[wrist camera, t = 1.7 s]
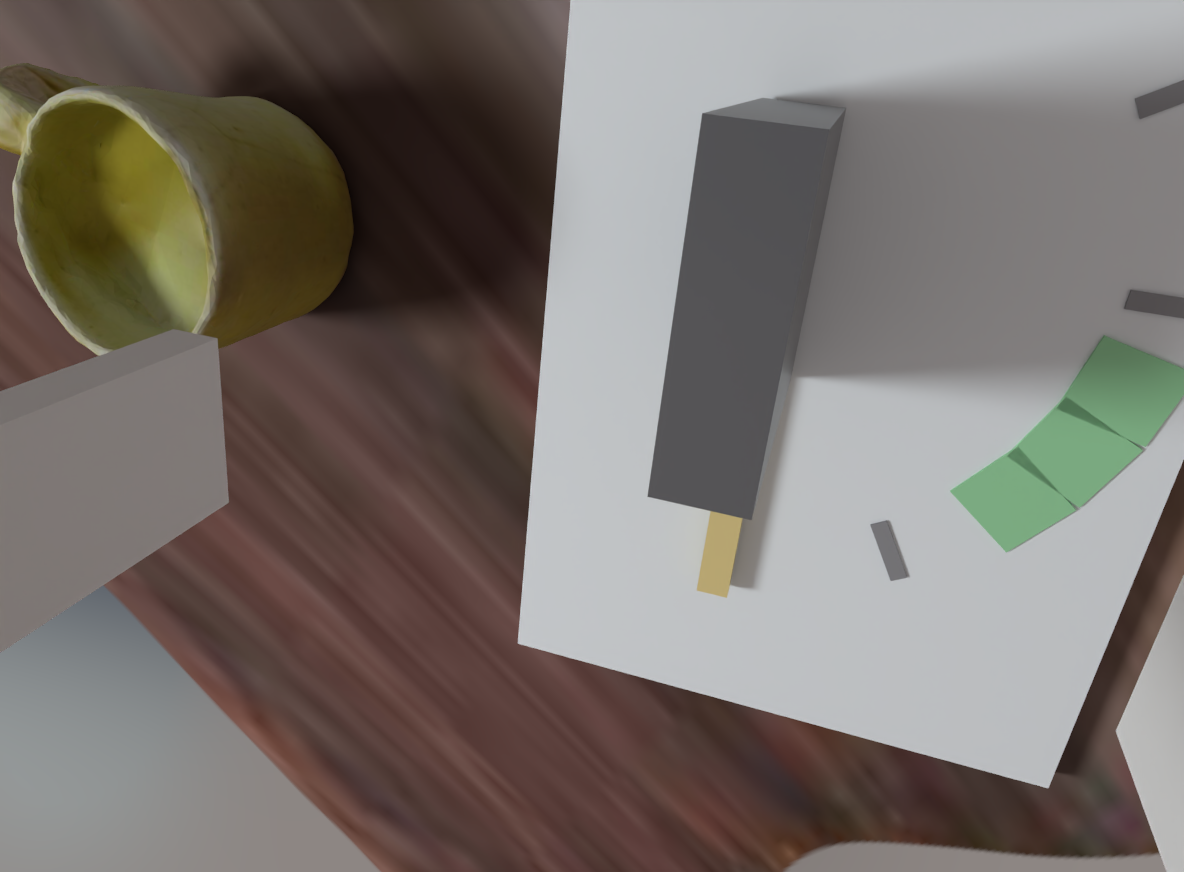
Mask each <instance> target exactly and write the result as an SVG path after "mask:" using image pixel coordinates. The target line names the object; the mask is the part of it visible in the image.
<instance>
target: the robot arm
mask: <svg viewBox="0 0 1184 872" xmlns="http://www.w3.org/2000/svg"><path fill="white" fill-rule="evenodd" d="M227 503H229V498H228V484H227V469H226V455H225V440H224V425H223V411H222V396H221V382H220V367H219V353H218V338H213V337H209V336H204V335H199V334H194V333H190V332H185V331H180V330H176V329H172V330H170V331H167V332H164V333H161V334H159V335H156V336H153V337H150V338H148V339H145V340H142V341H139V342H136V343H134V344H131V345H128V346H125V347H123V348H120V349H117V350H114V351H111V352H109V353H106V354H103V355H100V356H98V357H95V358H92V359H89V360H86V361H84V362H81V363H78V364H75V365H73V366H70V367H67V368H64V369H61V370H59V371H56V372H53V373H50V374H48V375H45V376H42V377H39V378H37V379H34V380H31V381H28V382H25V383H23V384H20V385H17V386H14V387H12V388H9V389H6V390H3V391H0V653H1V652H2V651H4V650H5V649H7V648H8V647H10V646H11V645H12V644H14V643H16V642H17V641H19V640H20V639H22V638H23V637H25V636H26V635H28V634H29V633H31V632H32V631H34V630H36V629H37V628H39V627H40V626H41V625H43V624H45V623H46V622H48V621H49V620H51V619H52V618H54V617H55V616H57V615H58V614H60V613H61V612H63V611H64V610H66V609H67V608H69V607H70V606H72V605H73V604H75V603H77V602H78V601H80V600H81V599H83V598H84V597H86V596H87V595H89V594H90V593H92V592H93V591H95V590H96V589H98V588H99V587H101V586H102V585H104V584H105V583H107V582H109V581H110V580H112V579H113V578H115V577H116V576H118V575H119V574H121V573H122V572H124V571H125V570H127V569H128V568H130V567H131V566H133V565H134V564H136V563H137V562H139V561H140V560H142V559H143V558H145V557H147V556H148V555H150V554H151V553H153V552H154V551H156V550H157V549H159V548H160V547H162V546H163V545H165V544H166V543H168V542H169V541H171V540H172V539H174V538H175V537H177V536H178V535H180V534H182V533H183V532H185V531H186V530H188V529H189V528H191V527H192V526H194V525H195V524H197V523H198V522H200V521H201V520H203V519H204V518H206V517H207V516H209V515H210V514H212V513H213V512H215V511H216V510H218V509H220V508H221V507H223V506H224V505H226V504H227ZM1116 733H1117V736H1118V739H1119V741H1120V744H1121V747H1122V750H1123V753H1124V755H1125V758H1126V761H1127V764H1128V766H1129V769H1130V772H1131V775H1132V777H1133V780H1134V783H1135V786H1136V789H1137V791H1138V794H1139V797H1140V800H1141V802H1142V805H1143V808H1144V811H1145V813H1146V816H1147V819H1148V822H1149V825H1150V827H1151V830H1152V833H1153V836H1154V838H1155V841H1156V844H1157V847H1158V850H1159V852H1160V855H1161V858H1162V860H1163V863H1164V866H1165V869H1166V871H1167V872H1184V576H1183V578H1182V580H1181V582H1180V585H1179V587H1178V589H1177V592H1176V594H1175V596H1174V599H1173V601H1172V603H1171V605H1170V608H1169V610H1168V612H1167V615H1166V617H1165V619H1164V622H1163V624H1162V626H1161V628H1160V631H1159V633H1158V635H1157V638H1156V640H1155V642H1154V645H1153V647H1152V649H1151V651H1150V654H1149V656H1148V658H1147V661H1146V663H1145V665H1144V668H1143V670H1142V672H1141V674H1140V677H1139V679H1138V681H1137V684H1136V686H1135V688H1134V691H1133V693H1132V695H1131V697H1130V700H1129V702H1128V704H1127V707H1126V709H1125V711H1124V714H1123V716H1122V718H1121V720H1120V723H1119V725H1118V727H1117V730H1116Z"/></svg>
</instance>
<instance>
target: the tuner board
mask: <svg viewBox="0 0 1184 872" xmlns="http://www.w3.org/2000/svg"><path fill="white" fill-rule="evenodd" d="M760 98H769V99H777V100H786V101H794V102H802V103H810V104H819V105H827V106H835V107H843V108H846V112H845V117H844V122H843V127H842V131H841V136H840V141H839V146H838V151H837V156H836V161H835V166H834V171H833V175H832V180H831V185H830V190H829V195H828V200H827V205H826V210H825V215H824V219H823V224H822V229H821V234H820V239H819V244H818V249H817V254H816V259H815V263H814V268H813V273H812V278H811V283H810V288H809V293H808V298H807V302H806V307H805V312H804V317H803V322H802V327H801V332H800V337H799V342H798V346H797V351H796V356H795V361H794V366H793V371H792V376H791V380H790V384H789V388H788V391H787V395H786V398H785V402H784V406H783V409H782V413H781V416H780V420H779V424H778V427H777V431H776V435H775V438H774V442H773V445H772V449H771V453H770V456H769V460H768V463H767V467H766V471H765V474H764V478H763V481H762V485H761V489H760V492H759V496H758V499H757V503H756V507H755V510H754V514H753V518H752V520H748V519H743V521H742V526H741V532H740V537H739V542H738V547H737V552H736V557H735V562H734V568H733V573H732V578H731V583H730V588H729V592H728V596H727V598H725V597H721V596H717V595H713V594H709V593H705V592H701V591H697V585H698V579H699V574H700V568H701V562H702V557H703V551H704V545H705V540H706V534H707V528H708V523H709V517H710V511H708V510H704V509H699V508H695V507H690V506H686V505H682V504H677V503H673V502H668V501H664V500H659V499H655V498H651V497H647V496H648V489H649V482H650V475H651V468H652V461H653V454H654V447H655V440H656V433H657V426H658V419H659V412H660V405H661V398H662V391H663V384H664V377H665V370H666V363H667V356H668V349H669V342H670V335H671V328H672V321H673V314H674V307H675V300H676V293H677V286H678V279H679V272H680V265H681V258H682V251H683V244H684V237H685V230H686V223H687V216H688V209H689V202H690V195H691V188H692V181H693V174H694V167H695V160H696V153H697V146H698V139H699V132H700V125H701V118H702V113H705V112H709V111H713V110H717V109H721V108H725V107H729V106H732V105H736V104H740V103H744V102H748V101H752V100H756V99H760ZM1183 460H1184V0H571V3H570V15H569V28H568V40H567V52H566V64H565V76H564V88H563V101H562V113H561V125H560V137H559V149H558V161H557V173H556V186H555V198H554V210H553V222H552V234H551V246H550V259H549V271H548V283H547V295H546V307H545V319H544V332H543V344H542V356H541V368H540V380H539V392H538V404H537V417H536V429H535V441H534V453H533V465H532V477H531V490H530V502H529V514H528V526H527V538H526V550H525V563H524V575H523V587H522V599H521V611H520V623H519V635H518V644H521V645H525V646H529V647H532V648H536V649H540V650H543V651H547V652H551V653H554V654H558V655H562V656H565V657H569V658H573V659H576V660H580V661H584V662H587V663H591V664H595V665H598V666H602V667H606V668H609V669H613V670H617V671H620V672H624V673H628V674H631V675H635V676H639V677H642V678H646V679H650V680H653V681H657V682H661V683H664V684H668V685H672V686H675V687H679V688H683V689H686V690H690V691H694V692H697V693H701V694H705V695H708V696H712V697H715V698H719V699H723V700H726V701H730V702H734V703H737V704H741V705H745V706H748V707H752V708H756V709H759V710H763V711H767V712H770V713H774V714H778V715H781V716H785V717H789V718H792V719H796V720H800V721H803V722H807V723H811V724H814V725H818V726H822V727H825V728H829V729H833V730H836V731H840V732H844V733H847V734H851V735H855V736H858V737H862V738H866V739H869V740H873V741H877V742H880V743H884V744H888V745H891V746H895V747H899V748H902V749H906V750H910V751H913V752H917V753H921V754H924V755H928V756H932V757H935V758H939V759H943V760H946V761H950V762H954V763H957V764H961V765H965V766H968V767H972V768H976V769H979V770H983V771H987V772H990V773H994V774H998V775H1001V776H1005V777H1009V778H1012V779H1016V780H1020V781H1023V782H1027V783H1030V784H1034V785H1038V786H1041V787H1045V788H1049V785H1050V783H1051V780H1052V778H1053V776H1054V773H1055V771H1056V768H1057V766H1058V763H1059V761H1060V759H1061V756H1062V754H1063V751H1064V749H1065V746H1066V744H1067V742H1068V739H1069V737H1070V734H1071V732H1072V729H1073V727H1074V725H1075V722H1076V720H1077V717H1078V715H1079V712H1080V710H1081V708H1082V705H1083V703H1084V700H1085V698H1086V696H1087V693H1088V691H1089V688H1090V686H1091V683H1092V681H1093V679H1094V676H1095V674H1096V671H1097V669H1098V666H1099V664H1100V662H1101V659H1102V657H1103V654H1104V652H1105V649H1106V647H1107V645H1108V642H1109V640H1110V637H1111V635H1112V632H1113V630H1114V628H1115V625H1116V623H1117V620H1118V618H1119V615H1120V613H1121V611H1122V608H1123V606H1124V603H1125V601H1126V598H1127V596H1128V594H1129V591H1130V589H1131V586H1132V584H1133V581H1134V579H1135V577H1136V574H1137V572H1138V569H1139V567H1140V564H1141V562H1142V560H1143V557H1144V555H1145V552H1146V550H1147V547H1148V545H1149V543H1150V540H1151V538H1152V535H1153V533H1154V530H1155V528H1156V526H1157V523H1158V521H1159V518H1160V516H1161V513H1162V511H1163V509H1164V506H1165V504H1166V501H1167V499H1168V496H1169V494H1170V492H1171V489H1172V487H1173V484H1174V482H1175V479H1176V477H1177V475H1178V472H1179V470H1180V467H1181V465H1182V462H1183Z"/></svg>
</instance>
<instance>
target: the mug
mask: <svg viewBox="0 0 1184 872" xmlns="http://www.w3.org/2000/svg"><path fill="white" fill-rule="evenodd" d="M0 148H2V149H4V150H7V151H9V152H12V153H15V154H18V155H21V157H20V159H19V162H18V167H17V171H16V175H15V178H14V181H13V189H12V193H13V200H14V210H15V213H14V219H15V225H16V228H17V232H18V238H17V241H18V244H19V247H20V250H21V253H22V256H23V259H24V261H25V264H26V267H27V270H28V272H29V273H30V275H31V277H32V279H33V281H34V283H35V285H36V286H37V288H38V290H39V292H40V294H41V295H42V297H43V299H44V300H45V302H46V303H47V304H48V306H49V307H50V309H51V310H52V312H53V313H54V314H55V316H56V317H57V318H58V320H59V321H60V322H61V323H62V325H63V326H64V327H65V328H66V330H67V331H68V332H69V333H70V334H71V336H72V337H73V338H74V339H75V340H77V341H78V342H79V343H81V344H83V345H84V346H86V347H87V348H89V349H90V350H91V351H93V352H94V353H95V354H96V355H98V356H100V355H103V354H106V353H109V352H111V351H114V350H117V349H120V348H123V347H125V346H128V345H131V344H134V343H136V342H139V341H142V340H145V339H148V338H150V337H153V336H156V335H159V334H161V333H164V332H167V331H170V330H172V329H176V330H180V331H185V332H190V333H194V334H199V335H204V336H209V337H213V338H218V349H219V348H222V347H225V346H228V345H231V344H233V343H235V342H237V341H240V340H242V339H244V338H246V337H250V336H253V335H255V334H257V333H260V332H262V331H264V330H267V329H269V328H272V327H274V326H277V325H279V324H281V323H283V322H286V321H289V320H292V319H295V318H298V317H300V316H302V315H304V314H307V313H308V312H310V311H312V310H313V309H315V308H316V307H317V306H319V305H320V304H321V303H322V302H323V301H324V300H325V299H327V298H328V297H329V296H330V295H331V293H332V292H333V291H334V289H335V288H336V287H337V285H338V284H339V282H340V281H341V279H342V278H343V275H344V273H345V271H346V269H347V264H348V256H349V252H350V249H351V245H352V239H353V233H354V225H353V218H352V209H351V200H350V195H349V191H348V186H347V182H346V179H345V174H344V171H343V170H342V168H341V166H340V164H339V162H338V160H337V158H336V156H335V155H334V153H333V151H332V150H331V149H330V148H329V147H328V146H327V145H326V144H325V143H324V142H323V141H322V140H321V138H320V137H319V136H318V135H317V134H316V133H315V132H314V131H313V130H312V129H311V128H310V127H309V126H308V125H306V124H305V123H304V122H303V121H301V120H300V119H299V118H298V117H297V116H295V115H293V114H291V113H290V112H288V111H286V110H285V109H283V108H281V107H279V106H277V105H275V104H274V103H271V102H269V101H267V100H264V99H260V98H257V97H248V96H236V97H221V98H213V97H202V96H195V95H189V94H183V93H177V92H171V91H163V90H156V89H149V88H141V87H132V86H100V85H98V84H96V83H91V82H89V81H86V80H83V79H81V78H78V77H70V76H66V75H62V74H59V73H56V72H54V71H52V70H50V69H46V68H42V67H38V66H35V65H31V64H28V63H23V64H16V65H11V66H7V67H4V68H2V69H0Z"/></svg>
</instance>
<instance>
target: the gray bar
mask: <svg viewBox="0 0 1184 872" xmlns="http://www.w3.org/2000/svg"><path fill="white" fill-rule="evenodd" d="M845 112H846V108H843V107H835V106H827V105H819V104H810V103H802V102H794V101H786V100H777V99H769V98H760V99H756V100H752V101H748V102H744V103H740V104H736V105H732V106H729V107H725V108H721V109H717V110H713V111H709V112H705V113H702V118H701V125H700V132H699V139H698V146H697V153H696V160H695V167H694V174H693V181H692V188H691V195H690V202H689V209H688V216H687V223H686V230H685V237H684V244H683V251H682V258H681V265H680V272H679V279H678V286H677V293H676V300H675V307H674V314H673V321H672V328H671V335H670V342H669V349H668V356H667V363H666V370H665V377H664V384H663V391H662V398H661V405H660V412H659V419H658V426H657V433H656V440H655V447H654V454H653V461H652V468H651V475H650V482H649V489H648V496H647V497H651V498H655V499H659V500H664V501H668V502H673V503H677V504H682V505H686V506H690V507H695V508H699V509H704V510H708V511H710V517H709V523H708V528H707V534H706V540H705V545H704V551H703V557H702V562H701V568H700V574H699V579H698V585H697V591H701V592H705V593H709V594H713V595H717V596H721V597H725V598H727V596H728V592H729V588H730V583H731V578H732V573H733V568H734V562H735V557H736V552H737V547H738V542H739V537H740V532H741V526H742V521H743V519H748V520H752V518H753V514H754V510H755V507H756V503H757V499H758V496H759V492H760V489H761V485H762V481H763V478H764V474H765V471H766V467H767V463H768V460H769V456H770V453H771V449H772V445H773V442H774V438H775V435H776V431H777V427H778V424H779V420H780V416H781V413H782V409H783V406H784V402H785V398H786V395H787V391H788V388H789V384H790V380H791V376H792V371H793V366H794V361H795V356H796V351H797V346H798V342H799V337H800V332H801V327H802V322H803V317H804V312H805V307H806V302H807V298H808V293H809V288H810V283H811V278H812V273H813V268H814V263H815V259H816V254H817V249H818V244H819V239H820V234H821V229H822V224H823V219H824V215H825V210H826V205H827V200H828V195H829V190H830V185H831V180H832V175H833V171H834V166H835V161H836V156H837V151H838V146H839V141H840V136H841V131H842V127H843V122H844V117H845Z"/></svg>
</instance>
